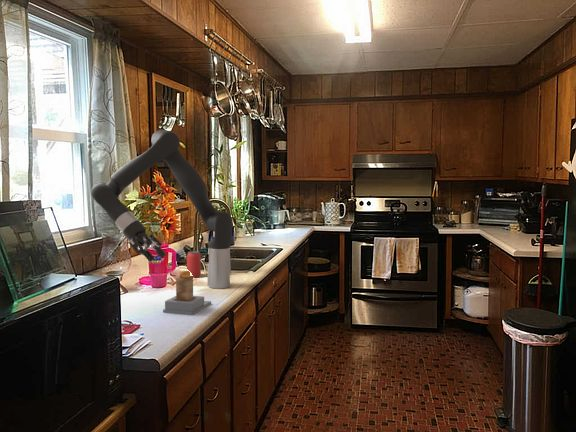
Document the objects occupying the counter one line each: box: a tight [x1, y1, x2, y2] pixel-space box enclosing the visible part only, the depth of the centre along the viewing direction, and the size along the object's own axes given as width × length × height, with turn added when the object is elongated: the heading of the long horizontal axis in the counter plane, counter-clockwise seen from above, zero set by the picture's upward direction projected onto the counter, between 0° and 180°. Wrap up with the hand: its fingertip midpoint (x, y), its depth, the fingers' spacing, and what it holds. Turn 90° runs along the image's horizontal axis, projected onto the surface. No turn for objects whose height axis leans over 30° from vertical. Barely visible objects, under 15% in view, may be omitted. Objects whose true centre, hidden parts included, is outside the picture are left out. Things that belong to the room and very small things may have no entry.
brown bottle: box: [175, 270, 194, 302], centre depth 188 cm, size 4×4×13 cm
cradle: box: [162, 295, 212, 316], centre depth 190 cm, size 12×16×4 cm
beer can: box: [186, 250, 202, 279], centre depth 246 cm, size 7×7×12 cm
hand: (158, 258), depth 190 cm, fingers open, 8 cm apart
